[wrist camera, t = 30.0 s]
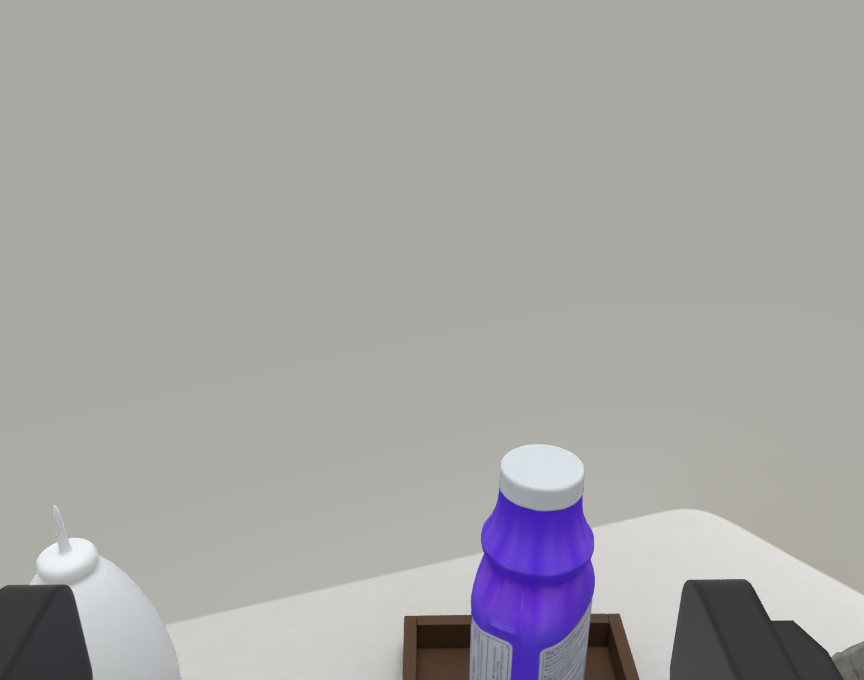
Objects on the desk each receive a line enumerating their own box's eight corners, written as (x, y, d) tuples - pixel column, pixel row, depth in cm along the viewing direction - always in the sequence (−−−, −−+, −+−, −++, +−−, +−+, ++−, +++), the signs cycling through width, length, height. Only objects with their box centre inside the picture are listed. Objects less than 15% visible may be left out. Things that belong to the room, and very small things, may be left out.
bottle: (509, 660, 51) (521, 416, 44) (596, 699, 48) (624, 447, 41) (449, 746, 45) (451, 484, 38) (543, 797, 43) (564, 524, 35)
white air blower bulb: (223, 776, 44) (179, 501, 37) (84, 885, 39) (0, 591, 32) (147, 696, 49) (95, 439, 42) (15, 784, 44) (-72, 508, 36)
